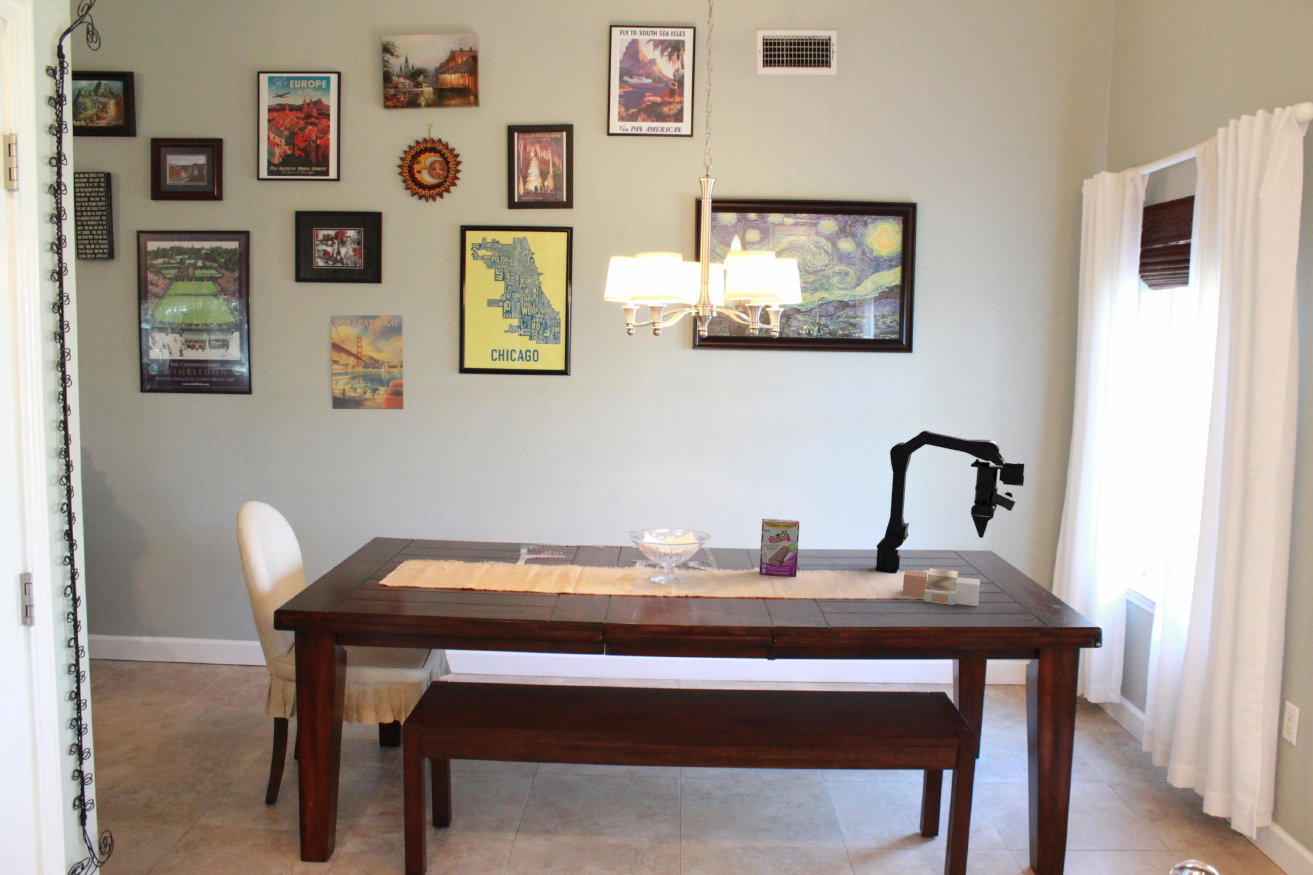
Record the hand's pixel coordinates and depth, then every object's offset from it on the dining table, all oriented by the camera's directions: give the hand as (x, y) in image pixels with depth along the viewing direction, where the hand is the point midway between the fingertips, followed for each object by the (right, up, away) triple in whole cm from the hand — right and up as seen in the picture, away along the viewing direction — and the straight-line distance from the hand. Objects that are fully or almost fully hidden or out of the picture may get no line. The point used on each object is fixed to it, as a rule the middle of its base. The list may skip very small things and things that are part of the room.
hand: (982, 534), depth 269 cm
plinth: (-20, -16, -22) cm, 33 cm away
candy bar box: (-60, -13, +3) cm, 62 cm away
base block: (-13, -15, -4) cm, 20 cm away
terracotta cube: (-24, -15, -14) cm, 32 cm away
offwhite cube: (-12, -16, -20) cm, 29 cm away
